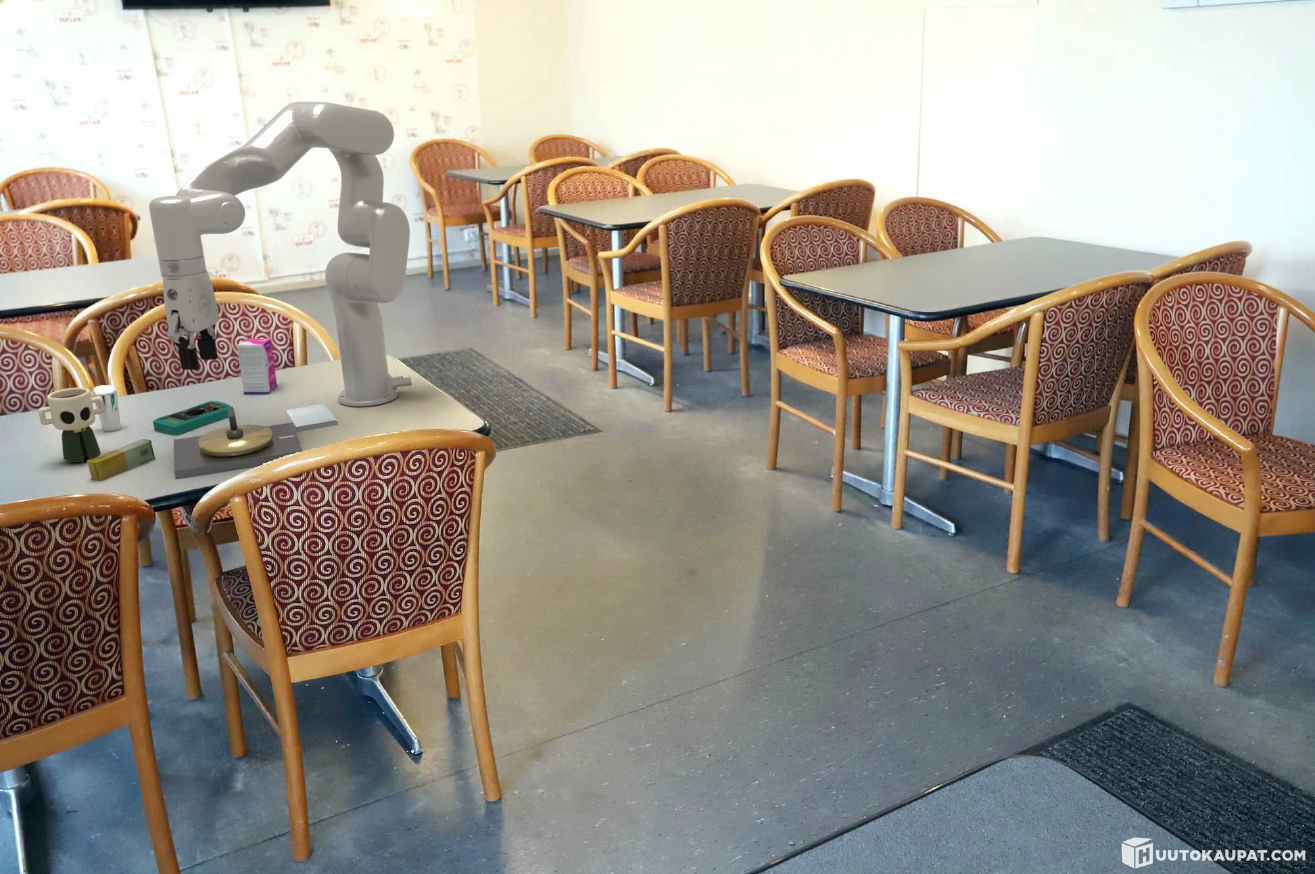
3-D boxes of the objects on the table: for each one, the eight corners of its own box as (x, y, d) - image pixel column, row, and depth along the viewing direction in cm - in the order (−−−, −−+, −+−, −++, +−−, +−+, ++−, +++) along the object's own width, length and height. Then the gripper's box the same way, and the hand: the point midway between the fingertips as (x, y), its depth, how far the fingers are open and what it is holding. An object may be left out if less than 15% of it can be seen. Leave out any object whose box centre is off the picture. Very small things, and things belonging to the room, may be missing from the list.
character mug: (55, 471, 194) (39, 403, 190) (46, 461, 199) (30, 395, 195) (119, 456, 201) (105, 391, 196) (108, 446, 206) (95, 382, 201)
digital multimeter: (238, 416, 223) (235, 403, 222) (176, 438, 211) (173, 424, 210) (214, 411, 226) (212, 398, 225) (153, 432, 214) (150, 418, 213)
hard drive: (337, 419, 215) (324, 402, 225) (296, 427, 211) (284, 409, 222) (338, 427, 216) (325, 410, 226) (297, 434, 212) (285, 416, 222)
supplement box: (269, 394, 236) (261, 344, 232) (243, 394, 236) (235, 345, 232) (278, 386, 241) (271, 337, 237) (252, 387, 241) (245, 338, 237)
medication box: (146, 458, 200) (142, 438, 199) (156, 459, 199) (152, 439, 198) (90, 480, 190) (85, 459, 189) (100, 482, 189) (95, 461, 188)
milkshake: (91, 433, 214) (80, 385, 210) (112, 424, 218) (102, 378, 215) (108, 435, 212) (98, 387, 209) (129, 426, 217) (119, 379, 213)
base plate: (293, 429, 213) (292, 421, 212) (303, 458, 197) (302, 450, 197) (175, 446, 205) (173, 438, 204) (175, 478, 189) (173, 469, 189)
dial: (269, 428, 209) (266, 404, 207) (275, 449, 197) (271, 423, 196) (198, 438, 204) (194, 413, 202) (200, 460, 193) (195, 434, 191)
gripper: (177, 277, 181) (195, 378, 187) (226, 258, 197) (241, 352, 203) (135, 277, 182) (155, 377, 188) (188, 258, 198) (204, 351, 204)
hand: (200, 363), depth 196 cm, fingers open, 5 cm apart
